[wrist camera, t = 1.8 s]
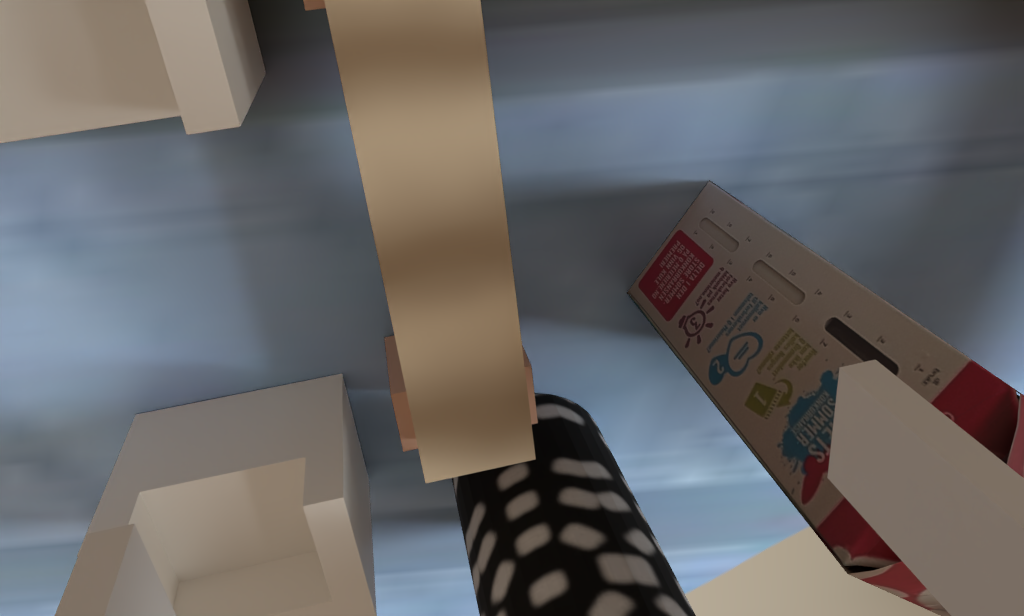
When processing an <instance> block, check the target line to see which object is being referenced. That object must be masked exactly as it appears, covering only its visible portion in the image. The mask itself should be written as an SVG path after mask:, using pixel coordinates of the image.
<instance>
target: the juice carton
mask: <svg viewBox="0 0 1024 616" xmlns="http://www.w3.org/2000/svg"><path fill="white" fill-rule="evenodd" d="M627 294H628V295H629V297H630V298H631V299H632V301H633V302H634V303H635V304H636V306H637V307H638V308H639V309H640V311H641V312H642V313H643V315H644V316H645V317H646V318H647V320H648V321H649V322H650V323H651V325H652V326H653V327H654V329H655V330H656V331H657V332H658V334H659V335H660V336H661V337H662V339H663V340H664V341H665V342H666V344H667V345H668V346H669V348H670V349H671V350H672V351H673V353H674V354H675V355H676V356H677V358H678V359H679V360H680V362H681V363H682V364H683V365H684V367H685V368H686V369H687V370H688V372H689V373H690V374H691V375H692V377H693V378H694V379H695V381H696V382H697V383H698V384H699V386H700V387H701V388H702V389H703V391H704V392H705V393H706V395H707V396H708V397H709V398H710V400H711V401H712V402H713V403H714V405H715V406H716V407H717V409H718V410H719V411H720V412H721V414H722V415H723V416H724V417H725V419H726V420H727V421H728V422H729V424H730V425H731V426H732V428H733V429H734V430H735V431H736V433H737V434H738V435H739V436H740V438H741V439H742V440H743V442H744V443H745V444H746V445H747V447H748V448H749V449H750V450H751V452H752V453H753V454H754V455H755V457H756V458H757V459H758V461H759V462H760V463H761V464H762V466H763V467H764V468H765V469H766V471H767V472H768V473H769V475H770V476H771V477H772V478H773V480H774V481H775V482H776V483H777V485H778V486H779V487H780V488H781V490H782V491H783V492H784V494H785V495H786V496H787V497H788V499H789V500H790V501H791V502H792V504H793V505H794V506H795V508H796V509H797V510H798V511H799V513H800V514H801V515H802V516H803V518H804V519H805V520H806V522H807V523H808V524H809V525H810V527H811V528H812V529H813V530H814V532H815V533H816V534H817V535H818V537H819V538H820V539H821V541H822V542H823V543H824V544H825V546H826V547H827V548H828V549H829V551H830V552H831V553H832V554H833V556H834V557H835V558H836V560H837V561H838V562H839V563H840V565H841V566H842V567H843V568H844V570H845V571H846V572H847V574H849V575H852V576H854V577H856V578H858V579H860V580H862V581H865V582H867V583H869V584H871V585H874V586H876V587H878V588H880V589H883V590H885V591H887V592H890V593H892V594H894V595H896V596H898V597H900V598H903V599H905V600H907V601H909V602H912V603H914V604H916V605H918V606H921V607H923V608H925V609H927V610H930V611H932V612H934V613H936V614H938V615H941V616H951V615H950V614H949V613H948V612H947V611H946V610H945V608H944V607H943V606H942V605H941V604H940V603H939V602H938V601H937V599H936V598H935V597H934V596H933V595H932V594H931V593H930V592H929V591H928V589H927V588H926V587H925V586H924V585H923V584H922V583H921V582H920V581H919V579H918V578H917V577H916V576H915V575H914V574H913V573H912V572H911V570H910V569H909V568H908V567H907V566H906V565H905V564H904V563H903V562H902V560H901V559H900V558H899V557H898V556H897V555H896V554H895V553H894V552H893V550H892V549H891V548H890V547H889V546H888V545H887V544H886V543H885V541H884V540H883V539H882V538H881V537H880V536H879V535H878V534H877V533H876V531H875V530H874V529H873V528H872V527H871V526H870V525H869V524H868V522H867V521H866V520H865V519H864V518H863V517H862V516H861V515H860V514H859V512H858V511H857V510H856V509H855V508H854V507H853V506H852V505H851V504H850V502H849V501H848V500H847V499H846V498H845V497H844V496H843V495H842V493H841V492H840V491H839V490H838V489H837V488H836V487H835V486H834V485H833V483H832V482H831V481H830V480H829V479H828V478H827V477H828V468H829V459H830V449H831V440H832V431H833V422H834V413H835V404H836V395H837V386H838V376H839V367H844V366H848V365H853V364H857V363H862V362H866V361H871V360H877V361H878V362H879V363H880V364H882V365H883V366H884V367H885V368H887V369H888V370H889V371H890V372H892V373H893V374H894V375H895V376H897V377H898V378H899V379H900V380H902V381H903V382H904V383H905V384H907V385H908V386H909V387H910V388H912V389H913V390H914V391H915V392H917V393H918V394H919V395H920V396H922V397H923V398H924V399H925V400H927V401H928V402H929V403H930V404H932V405H933V406H934V407H935V408H937V409H938V410H939V411H940V412H942V413H943V414H944V415H945V416H947V417H948V418H949V419H950V420H952V421H953V422H954V423H955V424H957V425H958V426H959V427H960V428H962V429H963V430H964V431H965V432H967V433H968V434H969V435H970V436H972V437H973V438H974V439H975V440H977V441H978V442H979V443H980V444H982V445H983V446H984V447H985V448H987V449H988V450H989V451H990V452H992V453H993V454H994V455H995V456H997V457H998V458H999V459H1000V460H1002V461H1003V462H1004V463H1005V464H1007V465H1008V466H1009V467H1010V468H1012V469H1013V470H1014V471H1015V472H1017V473H1018V474H1019V475H1020V476H1022V477H1023V478H1024V395H1022V394H1021V393H1020V392H1018V391H1017V390H1015V389H1014V388H1012V387H1011V386H1009V385H1008V384H1006V383H1005V382H1003V381H1002V380H1001V379H999V378H998V377H996V376H995V375H993V374H992V373H990V372H989V371H987V370H986V369H984V368H983V367H982V366H980V365H979V364H977V363H976V362H974V361H973V360H971V359H970V358H968V357H967V356H965V355H964V354H963V353H961V352H960V351H958V350H957V349H955V348H954V347H952V346H951V345H949V344H948V343H946V342H945V341H944V340H942V339H941V338H939V337H938V336H936V335H935V334H933V333H932V332H930V331H929V330H927V329H926V328H925V327H923V326H922V325H920V324H919V323H917V322H916V321H914V320H913V319H911V318H910V317H908V316H907V315H906V314H904V313H903V312H901V311H900V310H898V309H897V308H895V307H894V306H892V305H891V304H890V303H888V302H887V301H885V300H884V299H882V298H881V297H879V296H878V295H876V294H875V293H873V292H872V291H871V290H869V289H868V288H866V287H865V286H863V285H862V284H860V283H859V282H857V281H856V280H854V279H853V278H852V277H850V276H849V275H847V274H846V273H844V272H843V271H841V270H840V269H838V268H837V267H835V266H834V265H833V264H831V263H830V262H828V261H827V260H825V259H824V258H822V257H821V256H819V255H818V254H816V253H815V252H814V251H812V250H811V249H809V248H808V247H806V246H805V245H803V244H802V243H800V242H799V241H797V240H796V239H795V238H793V237H792V236H790V235H789V234H787V233H786V232H784V231H783V230H781V229H780V228H778V227H777V226H776V225H774V224H773V223H771V222H770V221H768V220H767V219H765V218H764V217H762V216H761V215H759V214H758V213H757V212H755V211H754V210H752V209H751V208H749V207H748V206H746V205H745V204H743V203H742V202H740V201H739V200H738V199H736V198H735V197H733V196H732V195H730V194H729V193H727V192H726V191H724V190H723V189H721V188H720V187H719V186H717V185H716V184H714V183H713V182H711V181H710V180H709V182H708V183H707V185H706V186H705V187H704V189H703V190H702V191H701V193H700V194H699V195H698V197H697V198H696V199H695V201H694V202H693V204H692V205H691V206H690V208H689V209H688V210H687V212H686V213H685V214H684V216H683V217H682V218H681V220H680V221H679V223H678V224H677V225H676V227H675V228H674V229H673V231H672V232H671V233H670V235H669V236H668V238H667V239H666V240H665V242H664V243H663V244H662V246H661V247H660V248H659V250H658V251H657V252H656V254H655V255H654V257H653V258H652V259H651V261H650V262H649V263H648V265H647V266H646V267H645V269H644V270H643V271H642V273H641V274H640V276H639V277H638V278H637V280H636V281H635V282H634V284H633V285H632V286H631V288H630V289H629V290H628V292H627ZM630 295H631V296H630ZM1016 391H1017V392H1018V393H1020V396H1019V395H1017V394H1016Z"/></svg>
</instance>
